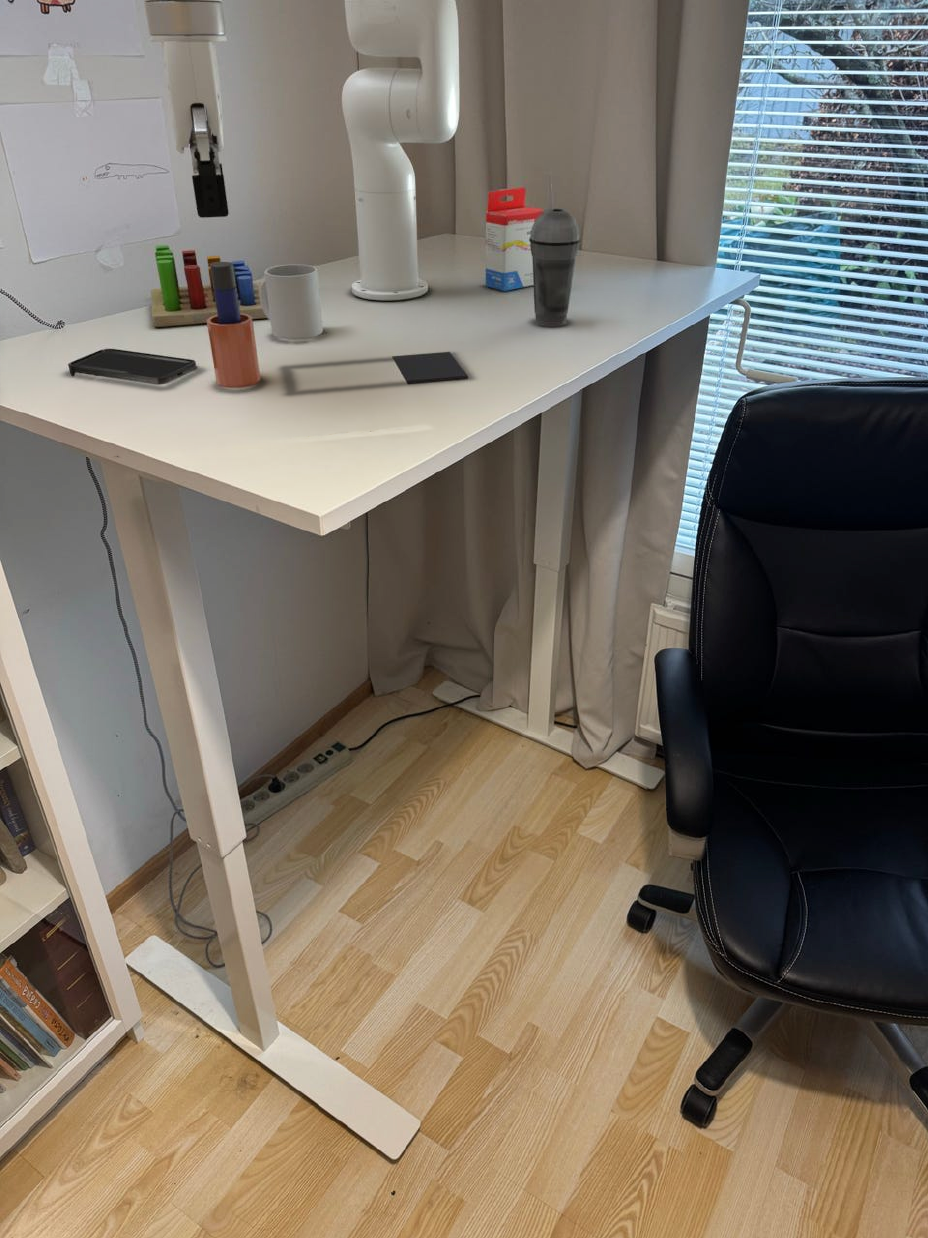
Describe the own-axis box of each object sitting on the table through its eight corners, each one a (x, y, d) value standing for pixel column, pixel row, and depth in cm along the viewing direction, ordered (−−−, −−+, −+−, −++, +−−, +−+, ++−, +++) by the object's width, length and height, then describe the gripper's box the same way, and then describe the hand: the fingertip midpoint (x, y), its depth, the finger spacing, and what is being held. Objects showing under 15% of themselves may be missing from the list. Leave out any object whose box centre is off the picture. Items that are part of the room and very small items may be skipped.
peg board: (273, 318, 135) (266, 258, 130) (154, 328, 131) (142, 267, 126) (260, 290, 149) (253, 235, 144) (152, 299, 145) (141, 243, 140)
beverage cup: (572, 330, 129) (582, 177, 118) (522, 328, 130) (527, 176, 119) (577, 317, 135) (587, 170, 124) (529, 314, 136) (535, 169, 125)
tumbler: (217, 379, 112) (206, 314, 108) (259, 375, 113) (251, 311, 109) (217, 393, 108) (206, 326, 103) (262, 389, 109) (253, 323, 104)
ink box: (503, 292, 147) (505, 194, 139) (484, 286, 151) (485, 191, 142) (541, 284, 152) (545, 189, 144) (522, 278, 155) (524, 185, 147)
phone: (105, 347, 119) (199, 360, 114) (107, 356, 120) (200, 368, 115) (63, 365, 113) (160, 379, 108) (65, 374, 114) (161, 388, 109)
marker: (227, 377, 111) (209, 262, 103) (248, 375, 111) (232, 260, 104) (228, 384, 109) (209, 267, 101) (249, 382, 109) (233, 265, 102)
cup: (299, 346, 123) (292, 278, 118) (247, 334, 128) (238, 269, 123) (333, 333, 128) (328, 268, 123) (282, 322, 133) (275, 259, 128)
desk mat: (284, 367, 116) (284, 364, 115) (449, 354, 120) (449, 351, 120) (291, 393, 108) (291, 390, 107) (467, 378, 112) (467, 375, 112)
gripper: (151, 25, 96) (179, 198, 105) (143, 23, 82) (176, 224, 91) (222, 25, 98) (244, 196, 107) (227, 23, 83) (251, 221, 93)
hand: (213, 209), depth 99 cm, fingers open, 9 cm apart
